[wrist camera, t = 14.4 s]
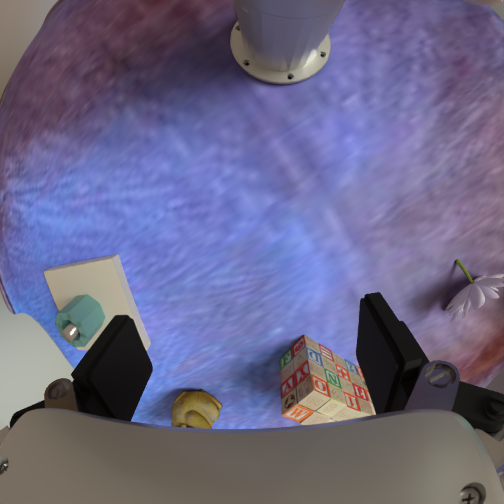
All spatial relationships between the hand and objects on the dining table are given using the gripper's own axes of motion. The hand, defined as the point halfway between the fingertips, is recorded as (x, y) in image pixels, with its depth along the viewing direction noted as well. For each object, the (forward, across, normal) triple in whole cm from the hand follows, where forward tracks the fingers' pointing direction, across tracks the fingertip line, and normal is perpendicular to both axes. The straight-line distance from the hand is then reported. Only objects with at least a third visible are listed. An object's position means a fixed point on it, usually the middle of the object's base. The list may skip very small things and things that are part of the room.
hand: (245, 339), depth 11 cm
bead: (+24, +29, +12) cm, 40 cm away
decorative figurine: (+25, +16, +34) cm, 45 cm away
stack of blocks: (+26, -10, +30) cm, 41 cm away
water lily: (+26, -32, +16) cm, 45 cm away
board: (+26, +29, +12) cm, 41 cm away
